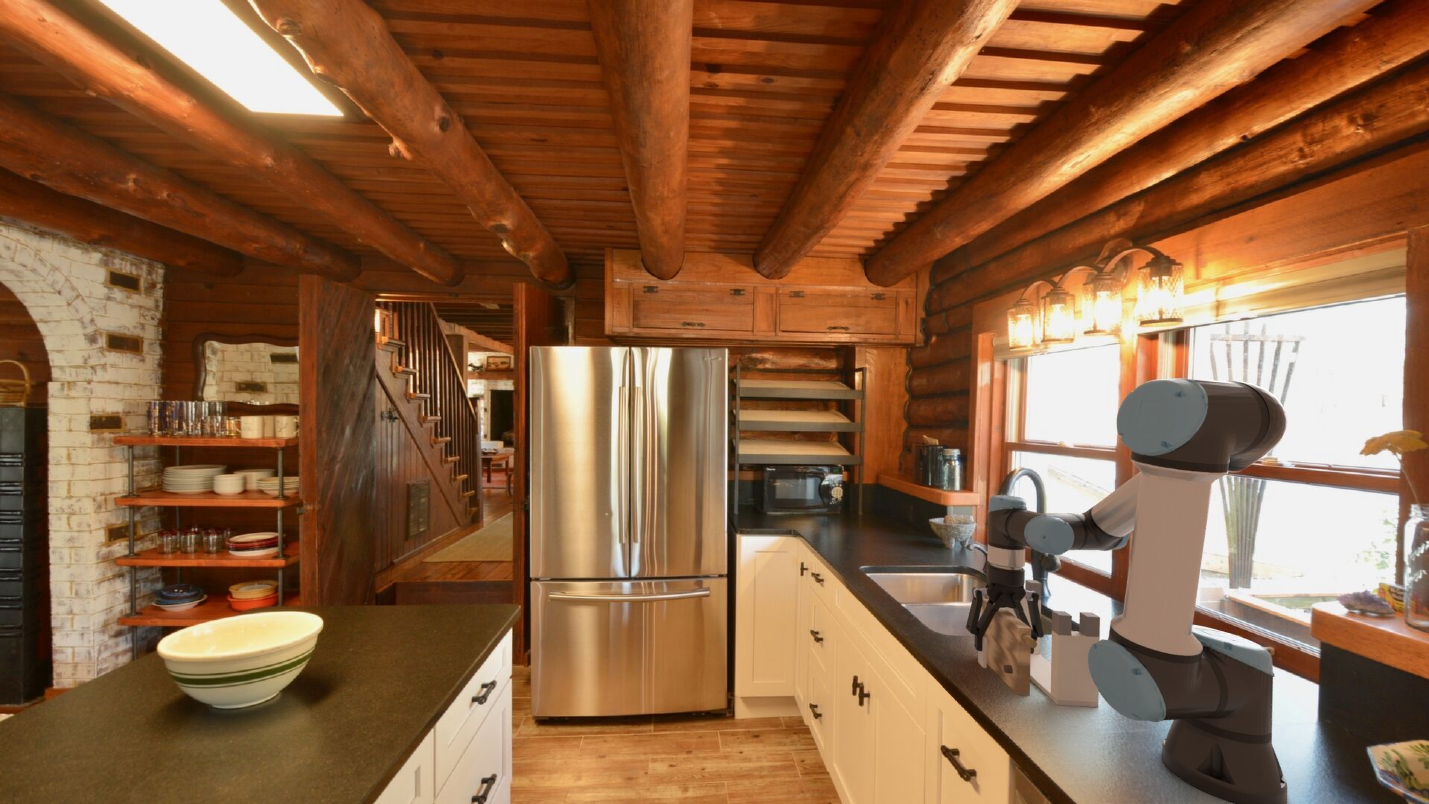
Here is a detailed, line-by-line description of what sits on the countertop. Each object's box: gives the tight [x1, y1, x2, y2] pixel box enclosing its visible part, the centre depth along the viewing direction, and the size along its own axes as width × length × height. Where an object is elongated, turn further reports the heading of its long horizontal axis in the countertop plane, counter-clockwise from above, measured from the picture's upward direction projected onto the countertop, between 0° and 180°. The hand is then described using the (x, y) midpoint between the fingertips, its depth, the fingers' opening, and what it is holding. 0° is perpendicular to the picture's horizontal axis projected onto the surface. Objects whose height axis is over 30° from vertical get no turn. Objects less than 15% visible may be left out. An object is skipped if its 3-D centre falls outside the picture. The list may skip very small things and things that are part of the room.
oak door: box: [981, 598, 1037, 696], centre depth 125 cm, size 25×4×14 cm, turn 177°
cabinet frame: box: [1005, 579, 1101, 708], centre depth 124 cm, size 25×8×18 cm, turn 177°
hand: (1003, 666), depth 124 cm, fingers open, 9 cm apart
